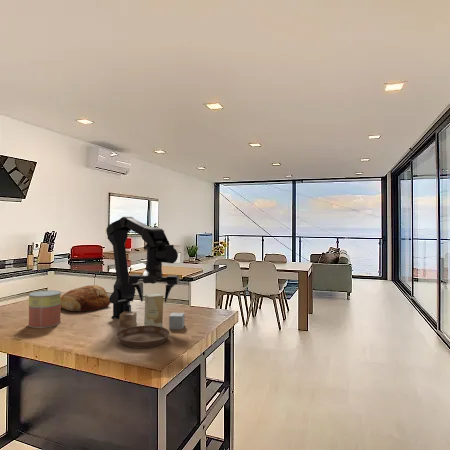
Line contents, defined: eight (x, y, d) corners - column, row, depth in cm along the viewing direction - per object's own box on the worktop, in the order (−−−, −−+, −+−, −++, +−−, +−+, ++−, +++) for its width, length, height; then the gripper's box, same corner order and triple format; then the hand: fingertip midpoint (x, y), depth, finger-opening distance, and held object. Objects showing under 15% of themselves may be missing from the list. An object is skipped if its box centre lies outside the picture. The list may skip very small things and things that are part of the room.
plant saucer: (173, 333, 132) (173, 325, 132) (164, 351, 114) (164, 341, 114) (125, 333, 132) (125, 324, 132) (108, 350, 114) (108, 340, 114)
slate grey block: (169, 329, 137) (169, 315, 137) (171, 325, 142) (171, 312, 142) (182, 329, 136) (182, 316, 136) (184, 325, 141) (184, 312, 141)
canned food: (54, 318, 150) (54, 289, 149) (65, 324, 142) (65, 293, 141) (24, 323, 142) (24, 292, 142) (33, 329, 134) (34, 297, 134)
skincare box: (146, 329, 136) (147, 296, 136) (143, 326, 140) (144, 294, 140) (163, 327, 139) (163, 295, 139) (160, 324, 143) (160, 293, 143)
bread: (111, 307, 171) (111, 285, 171) (77, 315, 156) (77, 292, 156) (84, 301, 182) (84, 281, 182) (50, 308, 167) (50, 286, 167)
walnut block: (119, 327, 138) (119, 314, 138) (123, 324, 143) (123, 311, 143) (132, 328, 137) (132, 315, 137) (136, 324, 142) (136, 311, 142)
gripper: (123, 263, 132) (123, 306, 132) (174, 264, 131) (173, 307, 131) (132, 259, 143) (132, 299, 143) (179, 260, 142) (179, 300, 142)
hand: (153, 301), depth 140 cm, fingers open, 9 cm apart
